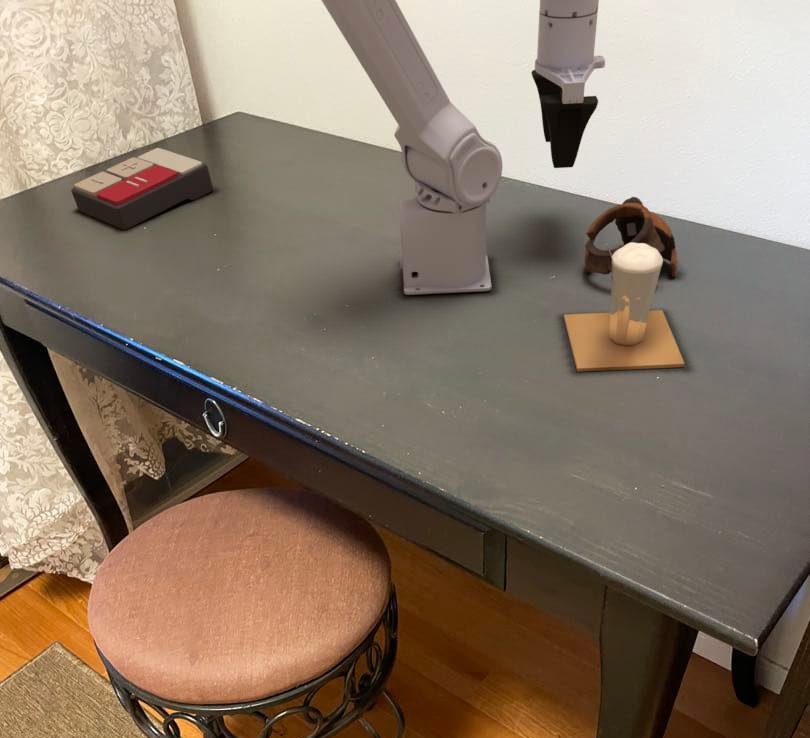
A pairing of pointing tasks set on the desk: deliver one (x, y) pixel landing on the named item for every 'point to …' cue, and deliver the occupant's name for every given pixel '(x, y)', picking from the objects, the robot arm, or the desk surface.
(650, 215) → the broken clay pot
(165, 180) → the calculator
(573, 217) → the desk surface
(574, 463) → the desk surface
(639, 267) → the milkshake
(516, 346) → the desk surface
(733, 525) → the desk surface
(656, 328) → the coaster
